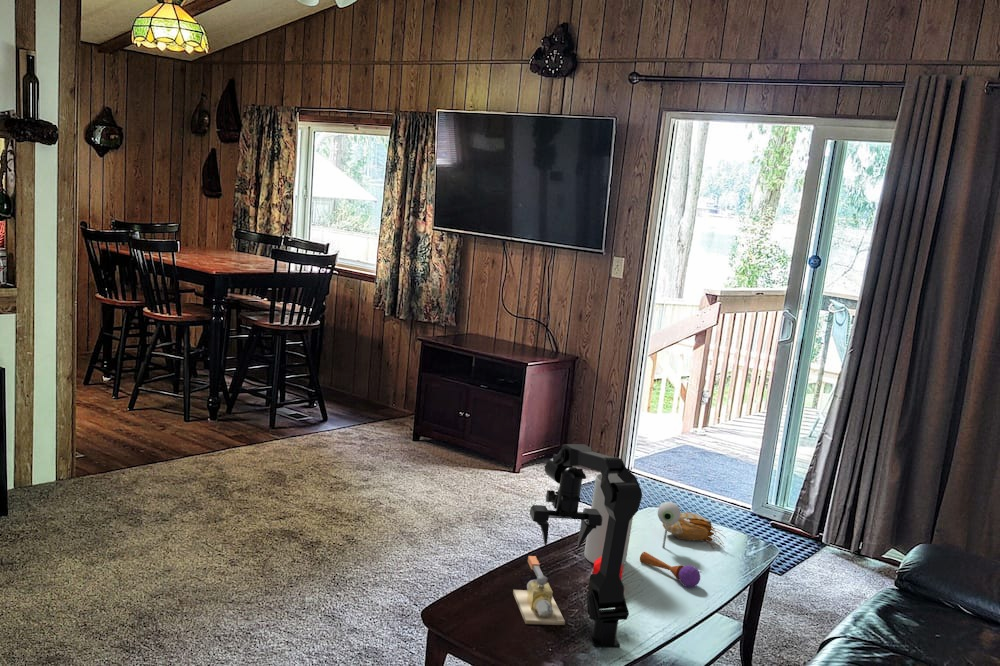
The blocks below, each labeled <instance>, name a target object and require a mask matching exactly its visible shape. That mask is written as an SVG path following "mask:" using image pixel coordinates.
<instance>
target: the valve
mask: <svg viewBox="0 0 1000 666" xmlns="http://www.w3.org/2000/svg"><path fill="white" fill-rule="evenodd" d="M526 590H527V594H528V596H527V601H528V604H529V606H530V608H531V610H535V612H536V613H538V614H539V616H540V617H541V618H543V619H547V618H549V617H550V616H551V615H552V613H553V610H552V603H551V601H552V596H553V593H554V591H553V590H552V588H551V586H550V583H549V582H547V584H544V585H543V584H539V583H537V579H531V580H529V581H528V582H527V584H526Z"/></svg>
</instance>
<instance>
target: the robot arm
mask: <svg viewBox="0 0 1000 666" xmlns="http://www.w3.org/2000/svg"><path fill="white" fill-rule="evenodd" d="M577 467H585V468H587V469H590V470H595V471H598V472H600V473H601V474H602V479H601V484H600V487H601V489H602V492H603V494H604V497H605V502H604V505H605V507H606V510H607V512H608V514H609V519H608V525H607V530H606V536H605V542H604V548H603V553H602V559H601V565H600V570H599V572H598V573H597V574H593V573H591V574H590V576H589V580H588V586H587V594H586V606H587V607H586V609H587V610H586V611H587V614H588V616H589V617H588V619H590V620H592V621H593V626H592V630H587V632H586V633H587V636H588V638H589V639H590V642H591V643H592V645H593V646H594V647H596V648H597V647H598V648H601V647H602V648H603V647H604V648H608V647H609V648H620V646H621V645H620V642H619V641H618V639H617V632H618V626H619V621H623V620H625V621H626V620H627V619H628V618H629V615H630V613H629V608H628V605H627V601H626V598H625V594H624V592H625V586H624V583H623V581H622V579H621V578H620V571H621V565H622V560H623V554H624V548H625V543H626V537H627V532H628V526H629V521H630V520H631V518H632V517H634V516H635V515H636V514H637V513H638V511H639V508H640V505H641V502H642V497H643V491H642V489H641V486H640V484H639V482H638V479H637V477H636V476H635V474H634V473H632V472H631V471H630V469H628V468H627V466H626V464H625V462H624V461H623V459H622V458H620V457H618V456H616V457H615V456H610V455H608V454H607V455H606V454H603V453H598V452H595V451H592V447H590V446H588V445H587V444H585V443H584V444H582V443H581V444H577V443H575V444H574V443H573V444H572V443H569V444H568V443H567V444H562V446H561V448H560V449H559V451H558V453H557V454H556V453H553V454H552V458H550V459H549V460H548V461H547V462H546V463H545V465H544V473H545V474H546V476H548V477H549V478H550V479H552V480H553V481H554V482H556V483H557V484H559V486H558V489H557V492H556V491H555V490H548V489H547V490H546V495H545V502H546V503H551V506H552V507H553V508H554V509H555V510H550V509H548V508H547V506H546V505H542V504H541V505H540V504H539V505H538V504H533V505H531V506H530V509H529V516H530V518H531V519H532V521H533V522H535V523H536V524H537V526H539V527H540V529H541V533H542V540H543V545H544V546H547V543H548V541H549V540H548V539H549V538H548V537H549V527H550V524H549V518H550V519H563V520H564V519H565V520H568V519H569V520H580V528H579V533H578V538H577V548H580V547H581V546H582V545H583V542H584V541H585V540H586V539H587V535H588V534H589V533H590V532H591V531H592V529H595V528H596V527H597V526H601V525H602V516H601V514H600V513H599V512H598V510H597V509H591V508H587V507H586V508H585V507H584V508H583V510H582V511H579V505H580V504H579V503H580V502H581V490H582V482H583V480H585V479H587V476H586V473H585V472H584V471H583V469H582V468H577ZM609 474H617V475H618V477H619V478H620V479H621V480H623V481H624V482H619V483H610V481H609V479H608V475H609ZM622 566H623V565H622Z"/></svg>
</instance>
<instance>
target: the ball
mask: <svg viewBox="0 0 1000 666" xmlns="http://www.w3.org/2000/svg"><path fill="white" fill-rule="evenodd" d="M601 559H602V557H600V558H599V559H597V560H596V561H595V563H593V569H592V574H597V573H598V572H599V570H600V565H601ZM623 572H624V566H623V565H621V571H620V578H621V580H622V579H623V574H624V573H623Z"/></svg>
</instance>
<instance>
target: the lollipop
mask: <svg viewBox="0 0 1000 666" xmlns="http://www.w3.org/2000/svg"><path fill="white" fill-rule="evenodd" d="M681 513H682V512H681V509H680V507H679V506H678V505H677V504H676V503H674V502H671V501H665V502H663V503H661V504H659V506H658V509H657V517H658V519H659V521H660V522H661V523H662V524H663V523H664V524H666V528H664V529H665V531H664V534H663V542H662V546H661V548H663V549H664V548H665V546H666V540H667V533H668V531H667V529H668V525H673V524H675V523H676V522H678V520H679V519H680V515H681Z"/></svg>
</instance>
